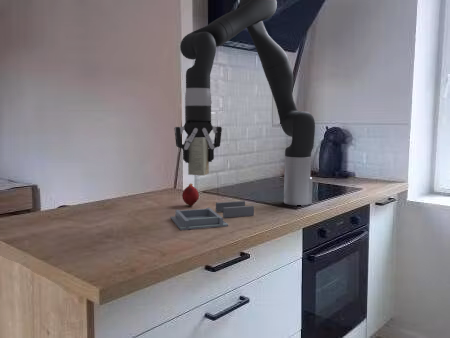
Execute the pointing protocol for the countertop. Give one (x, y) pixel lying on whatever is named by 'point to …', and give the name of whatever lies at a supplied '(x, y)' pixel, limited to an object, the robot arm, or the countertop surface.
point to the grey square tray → (197, 219)
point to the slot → (234, 209)
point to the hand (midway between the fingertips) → (198, 161)
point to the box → (198, 157)
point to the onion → (190, 195)
